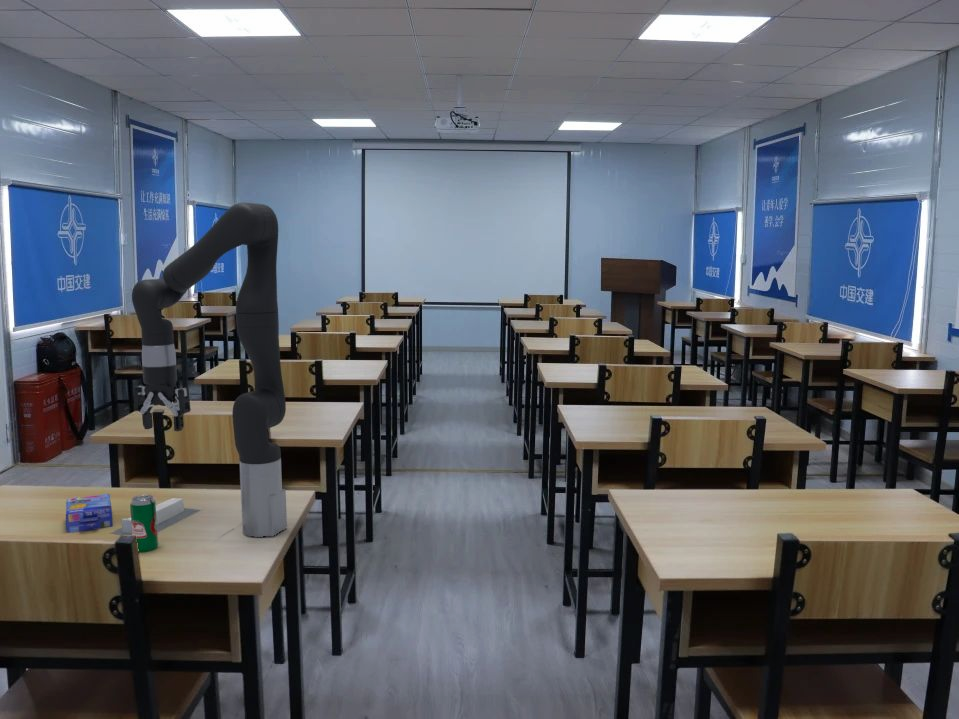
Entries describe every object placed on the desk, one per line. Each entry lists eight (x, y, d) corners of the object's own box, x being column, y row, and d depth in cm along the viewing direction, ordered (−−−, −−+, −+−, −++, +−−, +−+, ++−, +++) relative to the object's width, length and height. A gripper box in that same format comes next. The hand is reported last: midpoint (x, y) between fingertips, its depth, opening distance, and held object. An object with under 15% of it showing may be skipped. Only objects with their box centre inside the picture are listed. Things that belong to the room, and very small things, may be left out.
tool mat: (201, 512, 199) (201, 509, 198) (146, 540, 180) (146, 537, 180) (167, 508, 201) (167, 506, 201) (109, 535, 182) (109, 533, 182)
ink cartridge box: (110, 491, 197) (112, 510, 184) (111, 513, 198) (114, 533, 185) (65, 497, 193) (64, 517, 180) (66, 519, 194) (66, 540, 181)
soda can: (128, 552, 173) (124, 499, 171) (147, 544, 177) (144, 492, 175) (144, 556, 170) (140, 502, 169) (163, 548, 175) (160, 496, 173)
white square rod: (187, 511, 197) (186, 499, 197) (140, 535, 181) (139, 521, 181) (170, 509, 199) (169, 497, 198) (122, 532, 183) (121, 519, 182)
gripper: (194, 362, 191) (198, 428, 193) (145, 360, 195) (149, 424, 197) (174, 366, 183) (178, 435, 186) (123, 364, 188) (127, 431, 190)
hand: (163, 429), depth 191 cm, fingers open, 8 cm apart
